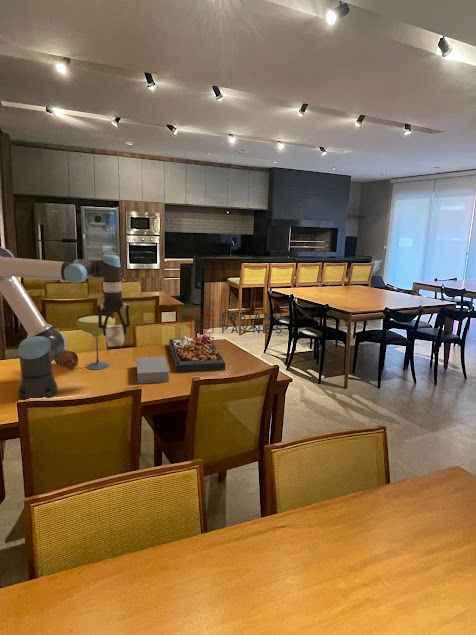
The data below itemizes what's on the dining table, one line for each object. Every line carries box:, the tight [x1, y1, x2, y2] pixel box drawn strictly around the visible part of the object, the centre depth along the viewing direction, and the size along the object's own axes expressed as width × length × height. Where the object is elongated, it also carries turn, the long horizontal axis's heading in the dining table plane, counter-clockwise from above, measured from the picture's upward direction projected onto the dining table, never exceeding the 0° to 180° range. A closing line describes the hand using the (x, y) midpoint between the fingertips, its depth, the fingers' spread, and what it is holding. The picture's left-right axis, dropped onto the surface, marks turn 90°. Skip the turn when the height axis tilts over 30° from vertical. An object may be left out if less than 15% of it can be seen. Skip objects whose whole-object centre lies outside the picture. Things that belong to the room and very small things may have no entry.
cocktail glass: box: [75, 313, 116, 371], centre depth 207 cm, size 18×18×25 cm
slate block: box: [136, 355, 170, 384], centre depth 202 cm, size 14×22×5 cm, turn 14°
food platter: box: [168, 332, 226, 374], centre depth 229 cm, size 45×25×10 cm, turn 14°
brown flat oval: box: [53, 349, 79, 370], centre depth 208 cm, size 15×3×8 cm, turn 62°
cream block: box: [107, 324, 123, 347], centre depth 186 cm, size 6×6×8 cm
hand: (115, 342), depth 187 cm, fingers closed on cream block, 6 cm apart
